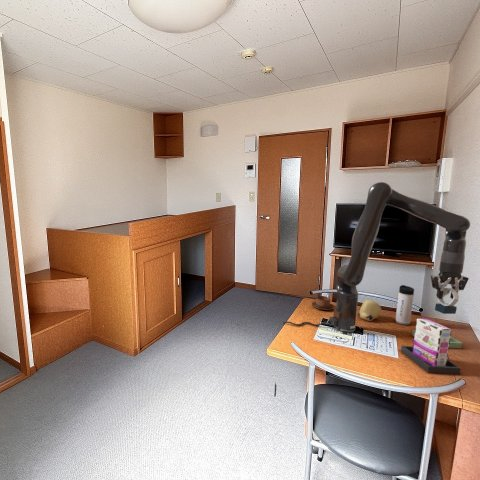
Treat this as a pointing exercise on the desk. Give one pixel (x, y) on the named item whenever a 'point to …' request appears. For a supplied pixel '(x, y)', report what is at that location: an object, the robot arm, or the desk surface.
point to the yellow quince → (369, 310)
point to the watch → (445, 307)
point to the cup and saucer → (323, 303)
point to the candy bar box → (431, 342)
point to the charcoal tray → (447, 369)
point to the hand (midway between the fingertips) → (446, 298)
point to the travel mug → (404, 305)
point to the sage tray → (453, 342)
